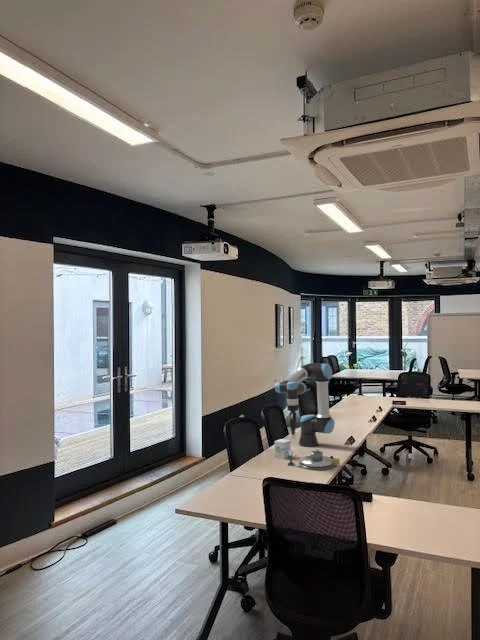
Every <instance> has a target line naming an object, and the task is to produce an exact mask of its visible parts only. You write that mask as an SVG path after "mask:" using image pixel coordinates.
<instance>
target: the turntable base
mask: <svg viewBox="0 0 480 640" xmlns="http://www.w3.org/2000/svg"><path fill="white" fill-rule="evenodd" d="M298 466H299V467H300V468H303V469H306V470H309V471H326V470H327V471H328V470H332V469H334V468H335V467H336V464H333V465H332V466H329V467H324V468H312V467H307V466H303V465H302V464H301V463H300V461H299V462H298Z"/></svg>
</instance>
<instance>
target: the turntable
mask: <svg viewBox="0 0 480 640" xmlns="http://www.w3.org/2000/svg"><path fill="white" fill-rule="evenodd" d="M299 462H300V463H301V464H302V465H303V466H307V467H312V468H324V467H329V466H332V465H333V464H335V466H337V465H340V464H341V463H340V462H341V461H340V458H338V457H337V458H336V457H335V458H332V457H329V456H325V455H323V461H319V462H316V461H311V455H308V456H306V455H305V456H303V457H301V458H300V461H299Z"/></svg>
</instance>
